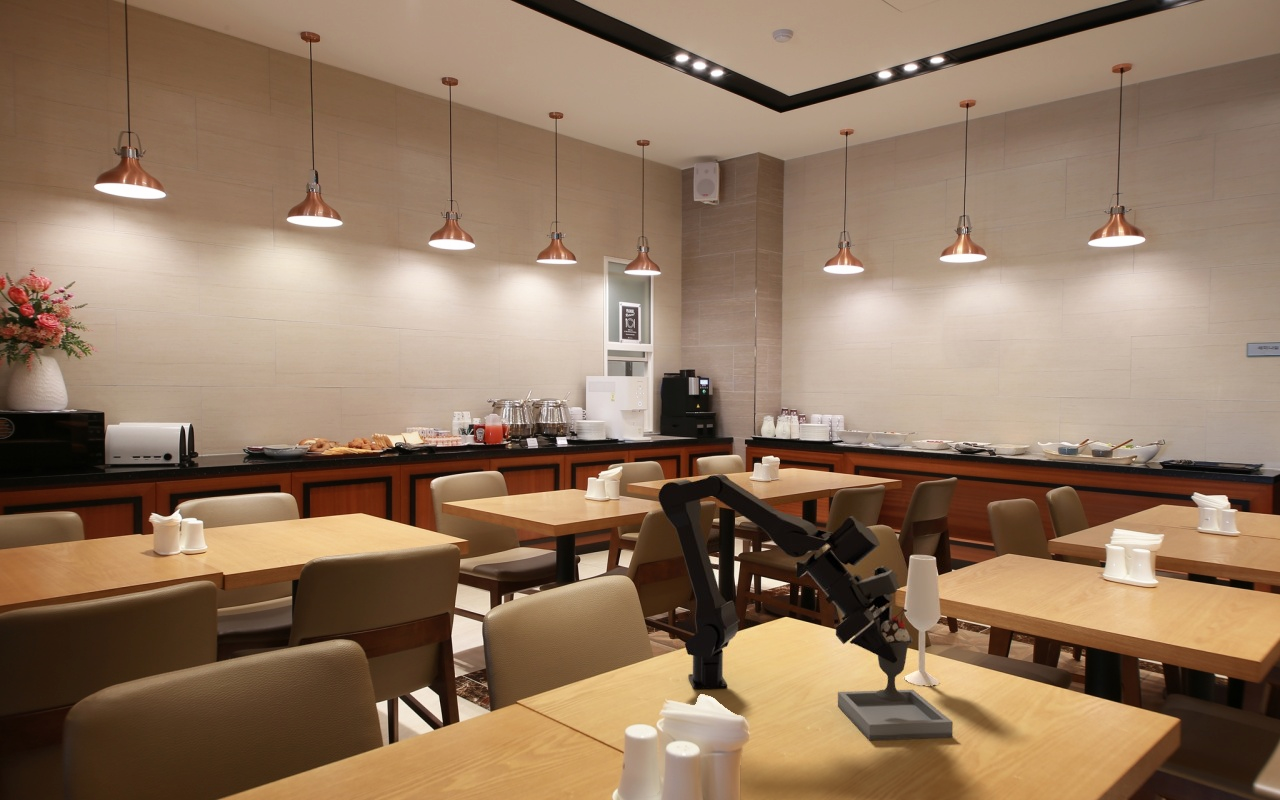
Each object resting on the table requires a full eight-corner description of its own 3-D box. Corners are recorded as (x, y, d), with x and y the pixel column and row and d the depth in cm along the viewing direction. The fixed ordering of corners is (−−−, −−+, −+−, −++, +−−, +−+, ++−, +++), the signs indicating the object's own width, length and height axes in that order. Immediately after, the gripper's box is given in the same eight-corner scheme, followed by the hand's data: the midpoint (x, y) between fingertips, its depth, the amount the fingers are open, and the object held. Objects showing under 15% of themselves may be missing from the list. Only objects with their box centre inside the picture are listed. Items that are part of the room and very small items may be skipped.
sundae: (920, 701, 130) (922, 611, 130) (885, 705, 128) (887, 614, 128) (896, 687, 136) (898, 601, 136) (863, 690, 134) (864, 604, 134)
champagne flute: (902, 683, 149) (903, 559, 149) (904, 672, 156) (905, 552, 156) (939, 688, 147) (940, 562, 147) (940, 677, 153) (941, 555, 153)
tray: (837, 705, 138) (837, 691, 138) (913, 703, 140) (913, 689, 140) (869, 740, 124) (869, 724, 124) (952, 737, 126) (952, 721, 126)
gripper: (857, 563, 126) (927, 643, 120) (882, 544, 142) (945, 614, 137) (808, 604, 130) (874, 683, 124) (838, 581, 146) (897, 651, 141)
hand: (900, 655), depth 131 cm, fingers closed on sundae, 6 cm apart
